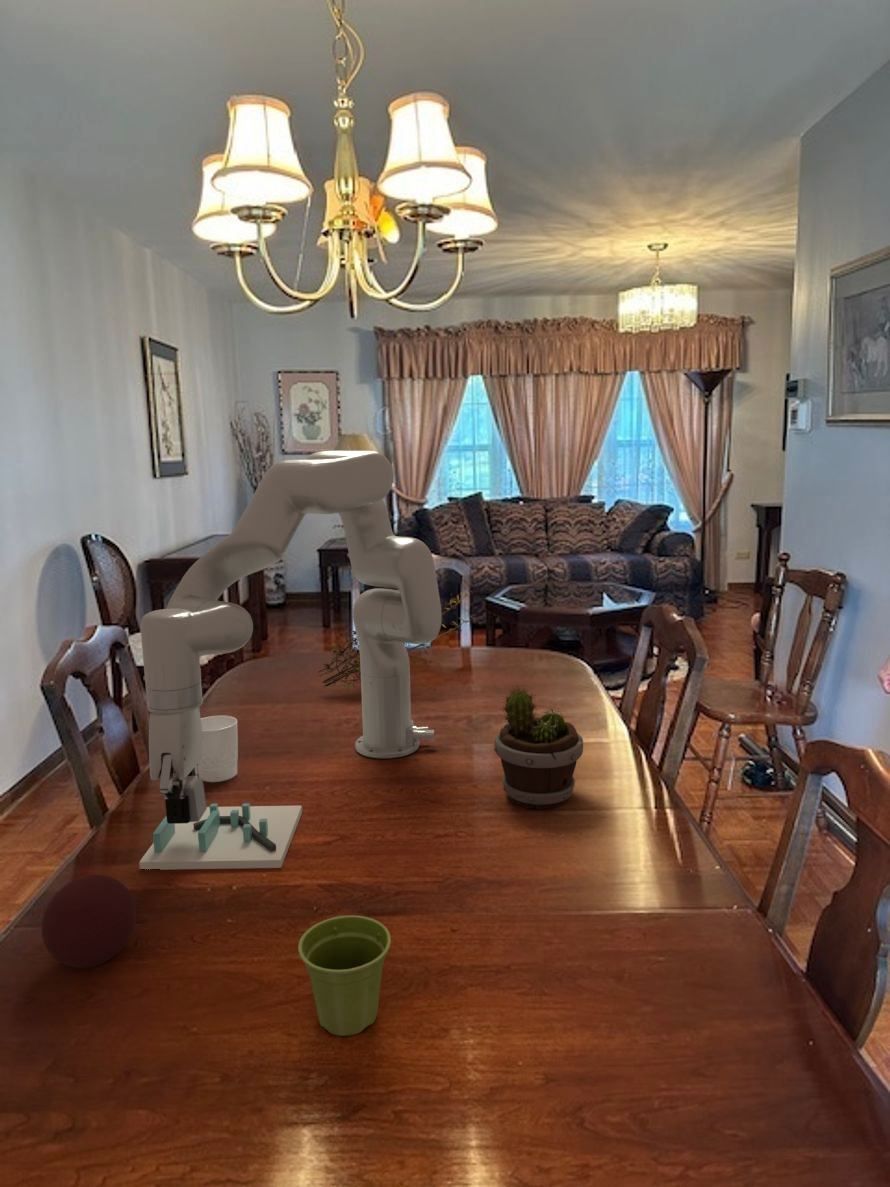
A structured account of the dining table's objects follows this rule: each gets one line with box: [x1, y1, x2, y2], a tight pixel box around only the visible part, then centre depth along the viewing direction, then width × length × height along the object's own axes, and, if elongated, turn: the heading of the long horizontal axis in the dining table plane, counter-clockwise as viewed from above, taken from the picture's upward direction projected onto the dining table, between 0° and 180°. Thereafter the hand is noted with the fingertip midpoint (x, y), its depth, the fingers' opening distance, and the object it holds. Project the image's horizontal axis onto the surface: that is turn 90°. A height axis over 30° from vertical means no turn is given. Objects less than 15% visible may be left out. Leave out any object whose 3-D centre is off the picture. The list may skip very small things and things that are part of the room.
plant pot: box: [297, 915, 392, 1037], centre depth 82 cm, size 9×9×9 cm
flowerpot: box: [493, 681, 584, 810], centre depth 131 cm, size 14×15×20 cm
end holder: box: [152, 814, 218, 853], centre depth 116 cm, size 8×6×3 cm
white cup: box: [197, 714, 239, 783], centre depth 142 cm, size 8×8×10 cm
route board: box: [138, 805, 303, 871], centre depth 120 cm, size 20×17×1 cm
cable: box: [193, 816, 276, 852], centre depth 119 cm, size 16×6×1 cm, turn 63°
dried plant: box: [317, 581, 476, 696], centre depth 188 cm, size 30×31×45 cm
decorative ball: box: [41, 874, 137, 969], centre depth 91 cm, size 10×10×10 cm
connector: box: [172, 776, 208, 822], centre depth 115 cm, size 4×4×6 cm
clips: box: [209, 802, 268, 842], centre depth 120 cm, size 10×8×2 cm
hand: (184, 813), depth 116 cm, fingers closed on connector, 4 cm apart
